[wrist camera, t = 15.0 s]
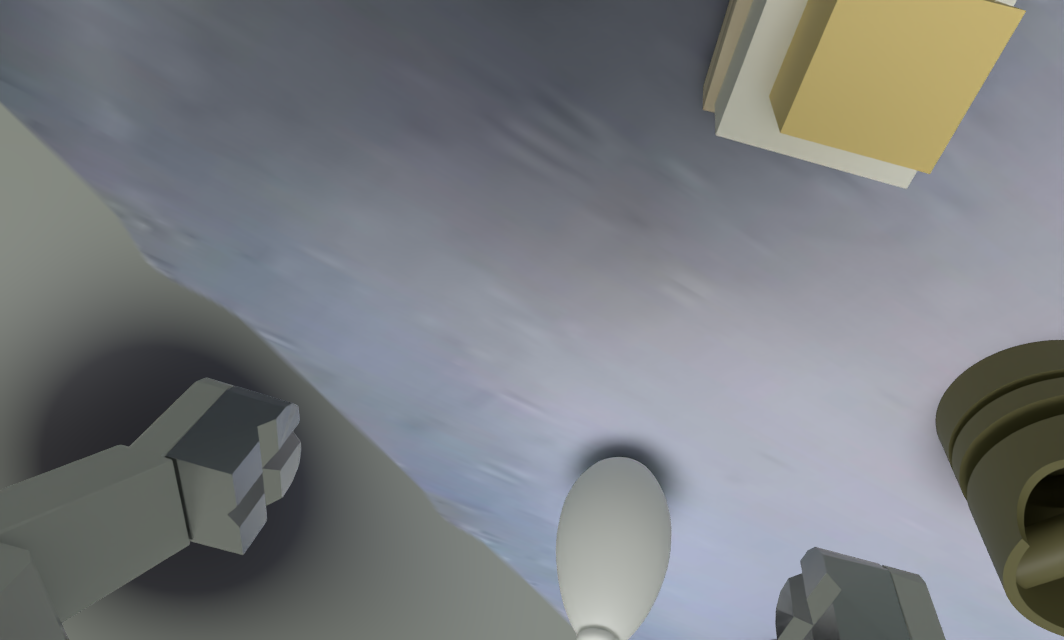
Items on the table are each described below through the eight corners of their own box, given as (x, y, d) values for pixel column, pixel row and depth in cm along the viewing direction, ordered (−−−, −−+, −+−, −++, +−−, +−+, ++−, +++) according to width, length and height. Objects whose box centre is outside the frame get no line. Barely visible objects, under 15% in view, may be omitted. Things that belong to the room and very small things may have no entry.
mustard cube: (826, -45, 23) (851, -34, 19) (968, -9, 23) (1026, 11, 18) (769, 96, 26) (779, 132, 22) (894, 129, 25) (930, 173, 21)
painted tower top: (714, 104, 31) (715, 135, 27) (785, -89, 27) (799, -87, 22) (880, 150, 31) (906, 189, 26) (981, -39, 26) (1032, -28, 22)
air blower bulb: (647, 420, 48) (620, 647, 34) (690, 491, 51) (683, 730, 37) (557, 445, 52) (498, 662, 37) (603, 511, 55) (564, 737, 40)
